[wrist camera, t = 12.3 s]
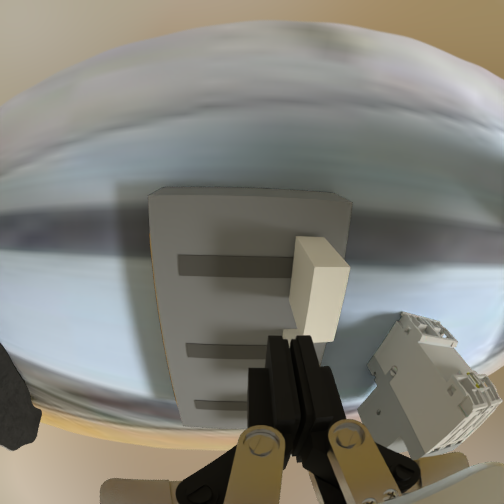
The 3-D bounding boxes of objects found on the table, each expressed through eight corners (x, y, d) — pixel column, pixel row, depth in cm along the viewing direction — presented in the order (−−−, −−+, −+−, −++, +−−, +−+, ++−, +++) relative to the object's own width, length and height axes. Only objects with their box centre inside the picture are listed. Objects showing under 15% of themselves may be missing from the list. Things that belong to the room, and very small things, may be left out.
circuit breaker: (342, 396, 31) (374, 489, 17) (402, 311, 27) (475, 406, 13) (381, 397, 33) (417, 477, 19) (439, 321, 28) (504, 399, 14)
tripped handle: (324, 237, 18) (350, 267, 14) (314, 300, 20) (333, 341, 16) (295, 236, 18) (314, 266, 14) (288, 300, 20) (301, 343, 15)
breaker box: (334, 192, 22) (390, 223, 13) (296, 402, 31) (308, 462, 22) (158, 187, 21) (108, 214, 12) (183, 401, 30) (174, 462, 22)
